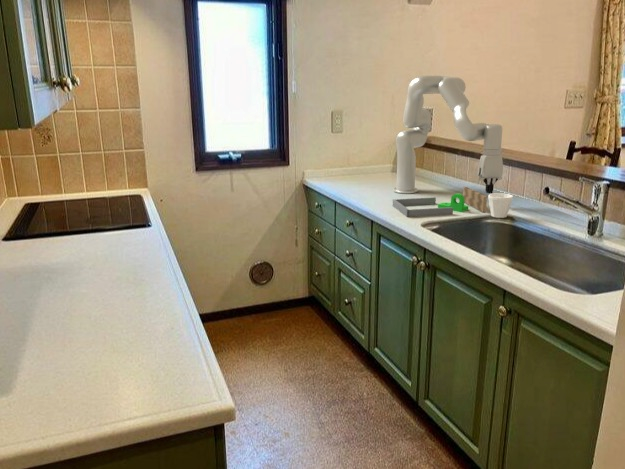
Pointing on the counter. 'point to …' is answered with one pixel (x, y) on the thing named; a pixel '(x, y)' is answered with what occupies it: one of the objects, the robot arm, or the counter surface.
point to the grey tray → (401, 204)
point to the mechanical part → (455, 203)
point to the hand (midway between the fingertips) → (489, 192)
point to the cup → (499, 204)
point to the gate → (475, 199)
